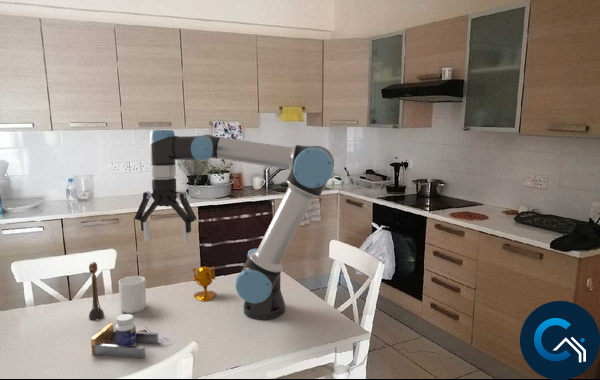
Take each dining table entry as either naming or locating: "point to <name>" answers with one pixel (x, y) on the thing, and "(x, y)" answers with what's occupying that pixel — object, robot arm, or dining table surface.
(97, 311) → the wooden tabletop sculpture
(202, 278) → the gold trophy cup
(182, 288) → the dining table surface
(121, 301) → the mug
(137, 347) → the rail cradle
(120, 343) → the pill bottle
